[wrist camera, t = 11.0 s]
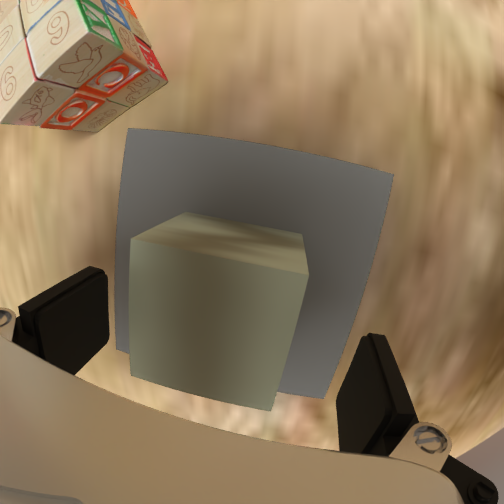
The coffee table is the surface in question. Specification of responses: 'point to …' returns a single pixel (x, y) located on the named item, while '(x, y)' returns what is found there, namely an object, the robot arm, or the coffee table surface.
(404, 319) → the coffee table surface
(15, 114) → the stack of blocks
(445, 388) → the coffee table surface
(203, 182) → the plinth
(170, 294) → the sage cube
